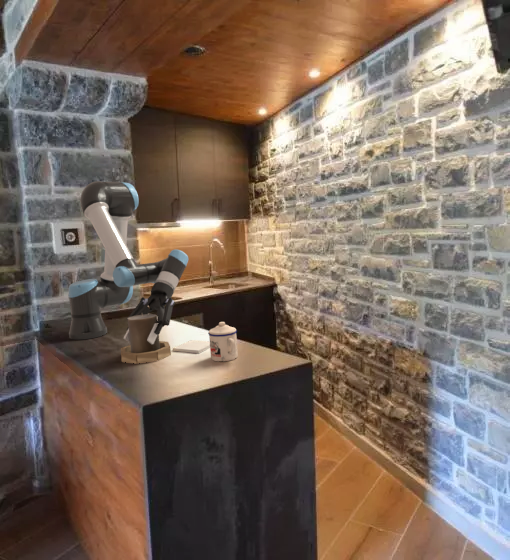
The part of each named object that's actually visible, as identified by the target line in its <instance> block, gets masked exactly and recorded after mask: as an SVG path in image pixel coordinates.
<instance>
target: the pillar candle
mask: <svg viewBox="0 0 510 560" xmlns="http://www.w3.org/2000/svg"><path fill="white" fill-rule="evenodd" d="M128 317H129V316H128ZM128 317H127V318H126V319H128V320H127V325H128V326H129V337H130V342H129V345H130V346H131V353H144V352H151V351H156V350H158V349H160V342H159V341H160V334H159V335H157V337H156V339H155V342H154V344H151V343H149V342H148V341H147V339H148V337H149V335H150V333H151V330H152V328H153V326H154V324H155V323H157V322H156V321H157V313H156V314H155V313H148V314H142V315H136V316H132V317H129V318H128ZM157 324H158V323H157ZM128 326H127V327H128Z"/></svg>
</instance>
